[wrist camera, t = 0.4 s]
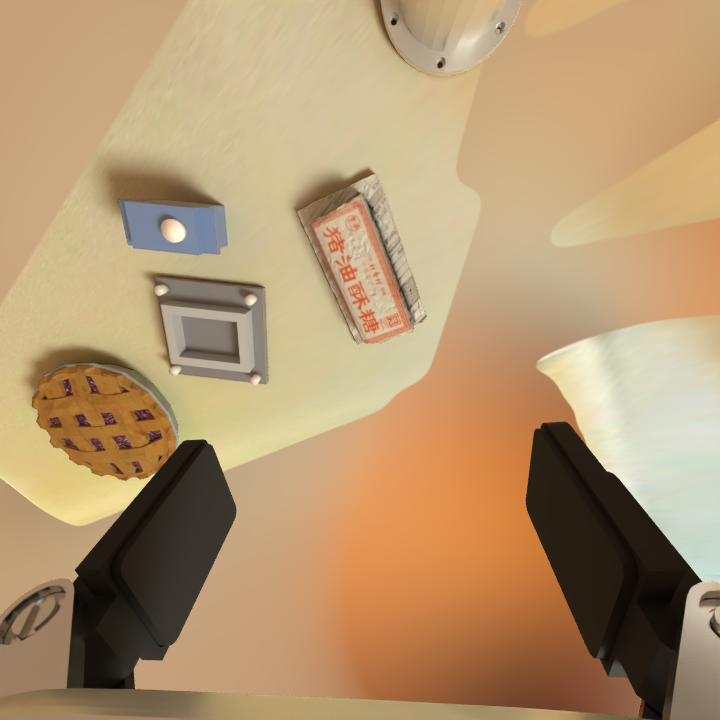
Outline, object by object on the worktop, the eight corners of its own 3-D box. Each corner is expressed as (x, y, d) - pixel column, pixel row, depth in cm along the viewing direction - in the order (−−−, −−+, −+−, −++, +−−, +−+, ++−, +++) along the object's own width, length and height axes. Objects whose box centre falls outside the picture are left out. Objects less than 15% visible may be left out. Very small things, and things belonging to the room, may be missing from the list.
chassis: (159, 275, 44) (144, 281, 42) (264, 287, 44) (256, 293, 41) (175, 370, 51) (163, 379, 48) (268, 380, 50) (261, 391, 47)
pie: (25, 368, 53) (-8, 384, 48) (144, 339, 49) (120, 354, 44) (104, 472, 62) (82, 494, 57) (210, 454, 58) (195, 477, 53)
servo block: (154, 198, 40) (102, 199, 33) (236, 206, 40) (203, 210, 33) (160, 238, 42) (113, 247, 35) (239, 246, 42) (208, 257, 35)
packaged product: (431, 330, 40) (354, 357, 42) (427, 316, 44) (357, 341, 47) (375, 169, 33) (286, 212, 36) (377, 172, 37) (298, 210, 40)
